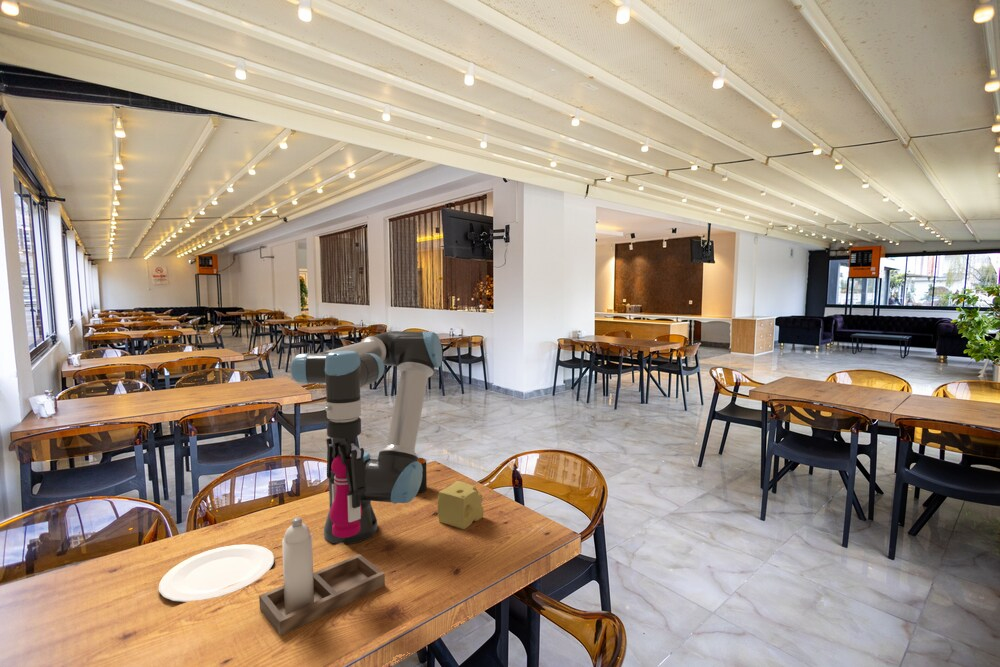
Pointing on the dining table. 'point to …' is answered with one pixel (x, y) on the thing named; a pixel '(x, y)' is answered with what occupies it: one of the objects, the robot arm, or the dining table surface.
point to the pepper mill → (342, 503)
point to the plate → (216, 573)
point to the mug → (424, 477)
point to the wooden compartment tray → (324, 593)
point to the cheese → (460, 505)
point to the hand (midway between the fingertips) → (346, 514)
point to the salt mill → (297, 567)
